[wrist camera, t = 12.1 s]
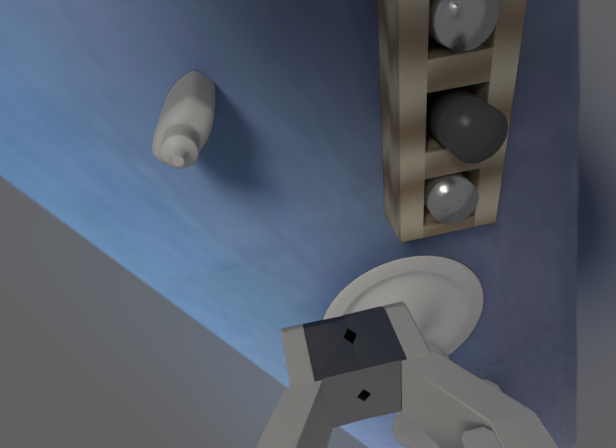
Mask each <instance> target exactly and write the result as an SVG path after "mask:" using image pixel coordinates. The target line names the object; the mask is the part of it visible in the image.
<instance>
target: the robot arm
mask: <svg viewBox="0 0 616 448" xmlns="http://www.w3.org/2000/svg"><path fill="white" fill-rule="evenodd" d="M303 328H304V329H303ZM282 339H283V345H284V351H285V357H286V363H287V369H288V375H289V381H290V388H286V389H284V391H283V393H282V395H281V397H280V399H279V401H278V403H277V405H276V408H275V410H274V412H273V414H272V416H271V418H270V420H269V422H268V424H267V426H266V428H265V431H264V433H263V435H262V437H261V439H260V441H259V443H258V446H257V447H256V448H327V445H328V442H329V439H330V435H331V432H332V429H331V428H334V427H338V426H341V425H345V424H348V423H352V422H356V421H359V420H363V419H367V418H371V417H376V416H380V415H385V414H390V413H394V412H399V411H402V413H403V414H404V415H405V416H406V417H407V418H409V419H410V420H411V421H412V422H413V423H414V424H415V425H416V426H417V427H419V428H420V429H421V430H422V431H423V432H424V433H425V434H426V435H428V436H429V437H430V438H431V439H432V440H433V441H434V442H435V443H436V444H438V445H439V446H440V447H441V448H558V446H557V445H556V443H555V442H554V440H553V439H552V437H551V436H550V434H549V433H548V432H547V430H546V429H545V427H544V426H543V424H542V423H541V421H540V420H539V418H538V417H537V415H536V414H535V412H533V411H532V410H530V409H528V408H527V407H525V406H524V405H522V404H520V403H519V402H517V401H515V400H514V399H512V398H511V397H509V396H507V395H506V394H504V393H503V392H501V391H499V390H498V389H496V388H494V387H493V386H491V385H490V384H488V383H486V382H485V381H483V380H481V379H480V378H478V377H477V376H475V375H473V374H472V373H470V372H469V371H467V370H465V369H464V368H462V367H460V366H459V365H457V364H456V363H454V362H452V361H451V360H449V359H447V358H446V357H444V356H443V355H441V354H439V353H438V352H437V353H432V354H431V352H430V350H429V348H428V346H427V344H426V342H425V340H424V338H423V337H422V335H421V333H420V331H419V329H418V327H417V325H416V323H415V321H414V319H413V317H412V316H411V314H410V312H409V310H408V308H407V306H406V304H405V303H404V302H402V301H401V302H397V303H393V304H388V305H384V306H382V307H381V306H379V307H375V308H371V309H367V310H362V311H358V312H354V313H350V314H346V315H342V316H339V317H334V318H329V319H325V320H320V321H315V322H310V323H305V324H303V326H302V324H301V325H297V326H292V327H287V328H282Z"/></svg>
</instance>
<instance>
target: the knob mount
mask: <svg viewBox="0 0 616 448" xmlns="http://www.w3.org/2000/svg"><path fill="white" fill-rule="evenodd" d="M498 3H499V14H498V19H497V23H496V25H495V28H494V30H493V31H492V33H491V34H490V36H489V37H488V38H487V39H486V40H485V41H484V42H483V43H482V44H481V45H479V46H478V47H476V48H474V49H472V50H469V51H464V52H460V51H455V50H452V49H450V48H448V47H446V46H444V45H442V44H440V43H437V42H435V41H434V42H428V32H429V0H378V30H379V59H380V89H381V118H382V148H383V177H384V207H385V217H386V219H387V221H388V222H389V224H390V225H391V227H392V229H393V230H394V232H395V234H396V235H397V237H398V239H399V240H400V242H406V241H411V240H415V239H420V238H424V237H429V236H434V235H438V234H443V233H448V232H452V231H457V230H462V229H466V228H471V227H476V226H480V225H485V224H489V223H494V222H496V216H497V209H498V202H499V195H500V188H501V181H502V174H503V167H504V160H505V153H506V145H507V138H508V133H507V137H506V139H505V141H504V143H503V145H502V146H501V148H500V149H499V150H498V151H497V152H496V153H495V154H494V155H493V156H492V157H490V158H488V159H487V160H485V161H482V162H479V163H474V164H470V163H464V162H462V161H460V160H459V159H458V158H456V157H455V156H454V155H453V154H452V153H451V152H450V151H449V150H448V149H447V148H446V147H444V146H443V145H442V144H441V143H440V142H439V141H438V140H437V139H436V138H435V137H434V136H432V135H431V134H430V132H429V131H428V129H427V128H426V106H427V93H430V92H436V91H441V90H446V89H451V88H457V87H460V88H462V89H465V90H467V91H469V92H471V93H472V94H474V95H475V96H477V97H479V98H480V99H482V100H484V101H485V102H487V103H489V104H490V105H492V106H493V107H495V108H497V109H498V110H500V111H501V112H502V113H503V114H504V115H505V117H506V119H507V122H508V131H509V124H510V117H511V110H512V103H513V96H514V89H515V82H516V75H517V68H518V61H519V54H520V47H521V40H522V33H523V25H524V18H525V11H526V4H527V0H498ZM458 172H460V173H461V174H463V175H464V176H465V177H466V178H467V179H468V180H469V181H470V182H471V183H472V184H473V185H474V186H475V187H476V188H477V190H478V195H479V199H478V203H477V205H476V207H475V209H474V210H473V212H472V213H471V214H470V215H469V216H468V217H466V218H465V219H463V220H462V221H460V222H457V223H453V224H444V223H441V222H439V221H437V220H436V219H435V218H434V216H433V215H432V214H431V213H430V211H429V210H428V209H427V207H426V206H425V205H424V180H425V179H429V178H434V177H439V176H443V175H448V174H453V173H458Z"/></svg>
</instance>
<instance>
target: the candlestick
mask: <svg viewBox="0 0 616 448" xmlns="http://www.w3.org/2000/svg"><path fill="white" fill-rule="evenodd" d="M401 301H402V302H404V303H405V304H406V306H407V308H408V310H409V312H410V314H411V316H412V317H413V319H414V321H415V323H416V325H417V327H418V329H419V331H420V333H421V335H422V337H423V338H424V340H425V342H426V344H427V346H428V348H429V350H430V352H431V354H432V353H437V352H438V353H439V354H441V355H443V356H444V357H446V358H447V359H449V356H448V355H450V354H451V353H452V352H454V351H455V350H456V349H457V348H458V347H459V346H460V345H461V344H462V343H463V342H464V341H465V340H466V339H467V338H468V337H469V335H470V334H471V333H472V331H473V330H474V328H475V327H476V325H477V323H478V321H479V319H480V316H481V313H482V309H483V303H484V295H483V290H482V286H481V284H480V282H479V280H478V278H477V277H476V275H475V274H474V273H473V272H472V271H471V270H470V269H469V268H467V267H466V266H465V265H463V264H461V263H459V262H457V261H455V260H452V259H449V258H445V257H439V256H412V257H406V258H401V259H397V260H394V261H390V262H388V263H385V264H382V265H380V266H378V267H375V268H373V269H371V270H370V271H368V272H366V273H364V274H363V275H361V276H359V277H358V278H357V279H355V280H354V281H352V282H351V283H350V284H349V285H348V286H346V287H345V288H344V289H343V290H342V291H341V292H340V293H339V294H338V295H337V297H336V298H335V299H334V300H333V302H332V303H331V305H330V306H329V308H328V310H327V312H326V314H325V316H324V318H323V320H325V319H329V318H334V317H339V316H342V315H346V314H350V313H354V312H358V311H362V310H367V309H371V308H375V307H379V306H381V307H382V306H384V305H388V304H393V303H397V302H401ZM449 360H450V359H449ZM480 379H481V378H480ZM481 380H483V381H485V382H486V383H488V384H490V385H491V386H493V387H494V388H496V389H498V390H499V391H501V389H500V388H499V387H498V386H497V385H496V384H495V383H493V382H491V381H489V380H486V379H481ZM501 392H502V391H501ZM392 432H393V436H394V438H395V439H396V440H397V441H398V442H399V443H400V444H402V445H403V446H406V447H408V448H441V447H440V446H439V445H438V444H436V443H435V442H434V441H433V440H432V439H431V438H430V437H429V436H428V435H426V434H425V433H424V432H423V431H422V430H421V429H420V428H419V427H417V426H416V425H415V424H414V423H413V422H412V421H411V420H410V419H409V418H407V417H406V416H405V415H404V414H403V413H402V411H399V413H398V414H397V416H396V417H395V419H394V422H393V426H392Z"/></svg>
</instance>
